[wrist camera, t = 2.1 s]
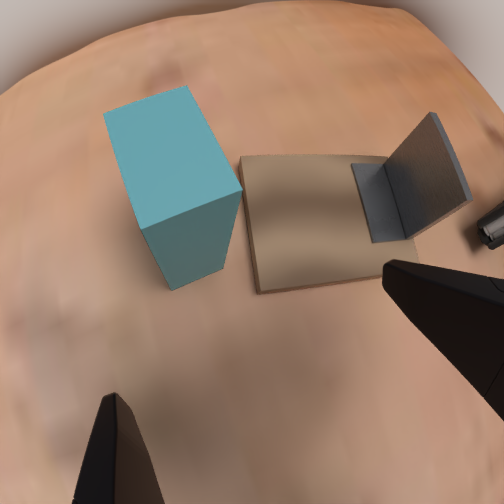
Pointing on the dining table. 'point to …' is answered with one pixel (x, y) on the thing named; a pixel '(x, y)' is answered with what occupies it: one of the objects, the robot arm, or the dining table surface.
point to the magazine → (492, 227)
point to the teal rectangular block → (176, 183)
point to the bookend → (412, 185)
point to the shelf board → (311, 222)
